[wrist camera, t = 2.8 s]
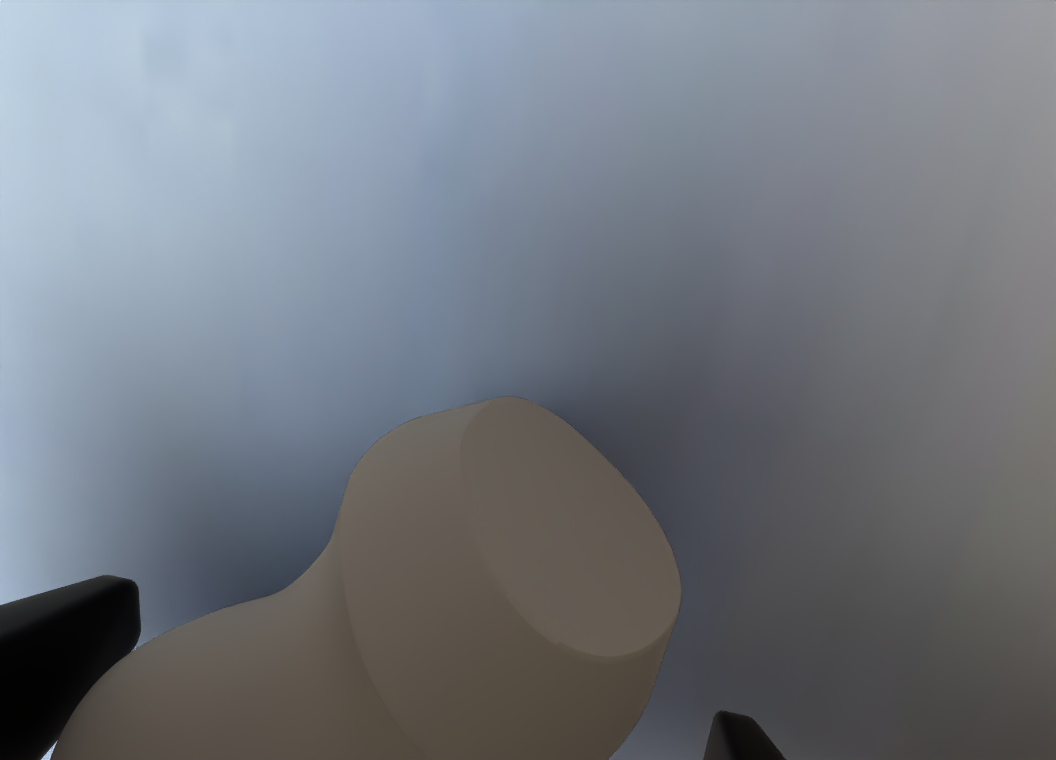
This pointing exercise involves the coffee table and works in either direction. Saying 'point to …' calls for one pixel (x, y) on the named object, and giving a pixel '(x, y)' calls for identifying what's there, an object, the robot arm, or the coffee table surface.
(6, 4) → the coffee table surface
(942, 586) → the coffee table surface
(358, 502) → the pale two-lobed sculpture
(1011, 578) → the coffee table surface
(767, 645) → the coffee table surface
